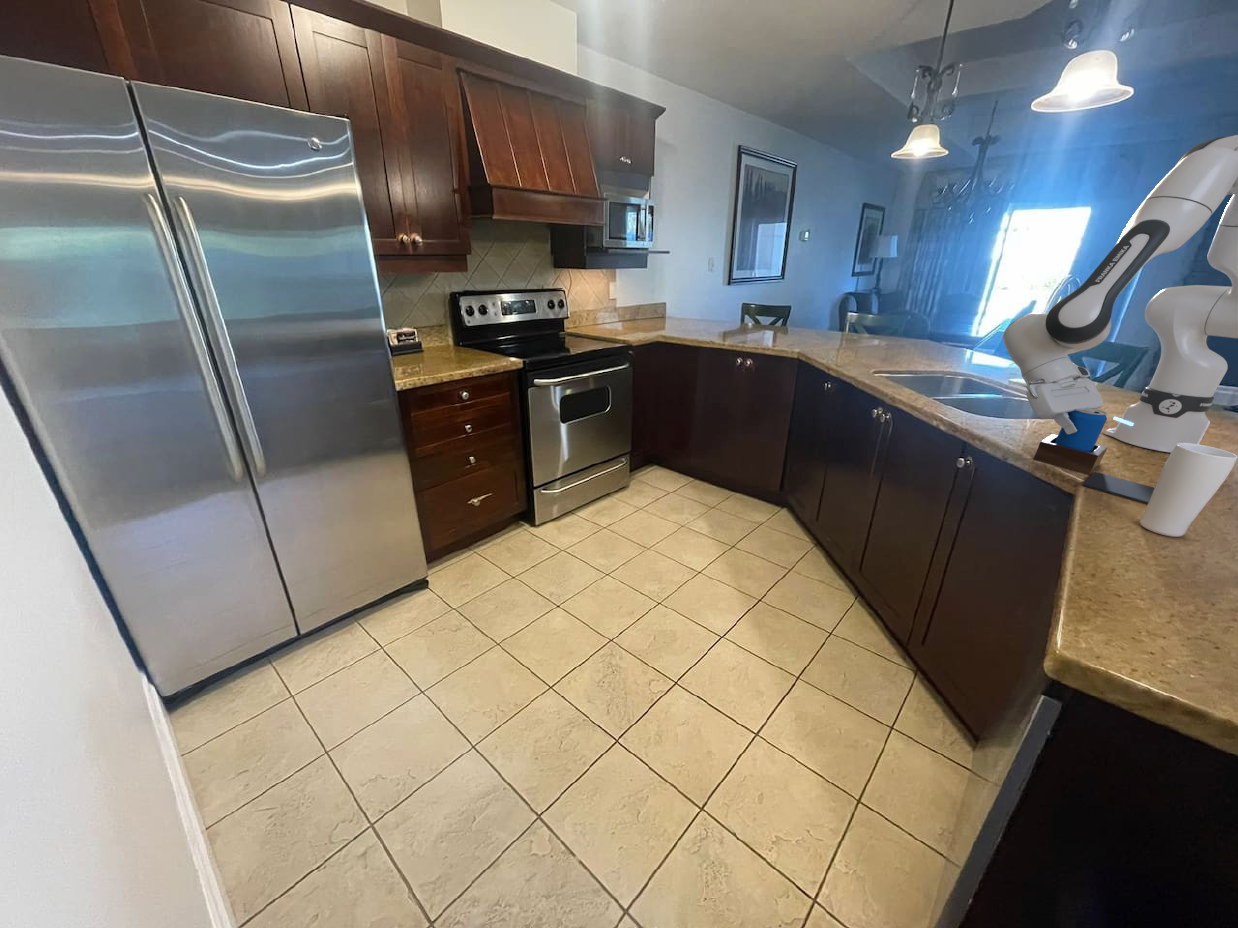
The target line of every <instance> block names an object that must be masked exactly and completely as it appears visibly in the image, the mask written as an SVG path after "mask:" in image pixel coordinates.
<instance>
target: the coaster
mask: <svg viewBox="0 0 1238 928" xmlns="http://www.w3.org/2000/svg"><path fill="white" fill-rule="evenodd" d="M1081 486H1082V487H1085V488H1087V489H1088V488H1089V489H1093V490H1096V491H1100V492H1103V493H1107V494H1110V495H1114V496H1116V497H1120V498H1124V499H1127V500H1131V501H1134V502H1138V503H1141V504H1145V505H1148V503H1149V501H1150V498H1151V496H1152V493H1153V491H1154V488H1155V486H1154V487H1153V486H1151V485H1146V484H1143V483H1139V482H1135V481H1131V480H1127V479H1123V478H1119V477H1116V476H1112V475H1109V474H1104V473H1101V472H1098V471H1097V472H1096V471H1093V472H1092V474H1090V476H1089V477H1088V478H1087V480H1085V481H1084V482H1083V483H1082V485H1081Z"/></svg>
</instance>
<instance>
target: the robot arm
mask: <svg viewBox="0 0 1238 928" xmlns="http://www.w3.org/2000/svg"><path fill="white" fill-rule="evenodd" d="M1230 195H1232V196H1231V198H1230V200H1229V202H1227V203H1228V204H1227V205H1226V207H1225V209H1224V212H1223V214H1222V216H1221V219H1220V221H1219V224H1218V226H1217V227H1216V231H1215V234H1214V237H1213V239H1212V242H1211V244H1210V247H1209V249H1208V253H1207V255H1206V259H1207V262H1208V264H1209V265H1210V267H1211V268H1212V269H1214V270H1217V271H1218V272H1221V273H1223V274H1224V275H1226V276H1227V278H1229V280H1230V283H1231V286H1227V285H1226V286H1224V285H1201V284H1195V285H1194V284H1191V285H1190V284H1189V285H1180V286H1172V287H1166V288H1164V289H1162V290H1160V291H1159V292H1158V293H1156V294H1155V295H1154V296H1152V298H1150V299H1149V301H1148V302H1147V304H1146V306H1145V309H1144V319H1145V322H1146V324H1147V325H1148V326H1149V327H1150V328H1151V329H1152V330H1153V331H1154V332H1155V334H1156V335H1157V337H1158V339H1159V343H1160V358H1159V361H1158V364H1157V366H1156V368H1155V371H1154V374H1153V376H1152V379H1151V380H1150V382H1149V384H1148V385H1147V386H1145V387H1144V389H1143V391H1142V392H1141V395H1140V396H1139V401H1138V402H1137V403H1134V404H1131V405H1129V406H1127V407H1126V408H1125V410H1124V412H1123V414H1122V416H1121V417H1117V416H1113V420H1114V421H1117V422H1118V423H1117V425H1116V426H1115V427H1112V428H1108V429H1105V430H1104V431H1103V435H1106V436H1109V437H1112V438H1114V439H1117V440H1118V441H1120V442H1123V443H1126V444H1129V445H1132V446H1135V447H1136V446H1137V447H1140V448H1144V449H1149V450H1153V451H1158V452H1164V453H1170V454H1171V452H1172V451H1173V449H1174V448H1175V446H1176V444H1178V443H1193V444H1200V445H1202V444H1201V441H1202V440H1203V439H1204V437H1205V434H1206V432H1207V430H1208V429H1209V427H1210V424H1211V421H1210V420H1209V418H1208V417H1207V415H1206V412H1208V411H1209V409H1210V407H1211V406H1212V405H1213V402H1214V399H1215V397H1214V394H1215V393H1216V391H1217V389H1218V387H1219V385H1220V384H1221V382H1222V380H1223V378H1224V377H1225V375H1226V373H1227V371H1228V368H1229V367H1228V362H1227V360H1226V359H1225V358H1224V357H1223V356H1221V354H1218V353H1217V352H1215V351H1213V350H1212V349H1210V348H1209V346H1208V344H1207V339H1208V337H1209V336H1211V337H1219V338H1220V337H1222V338H1230V339H1238V134H1235V135H1232V136H1220V137H1215V138H1210V139H1208V140H1205V141H1202V142H1200V143H1198V144H1196V145H1195V146H1192V147H1191V148H1190V149H1189V150H1188V151H1187V152H1185V154H1183V156H1182V157H1181V158H1180V159H1179V161H1178V162H1177V163H1176V164H1175V166H1174V167H1172V169H1171V170H1170V171H1169V172H1168V173H1167V174H1166V175H1165V176H1164V177H1163V178H1162V179H1161V180H1160V181H1159V183H1157V184H1156V185H1155V187H1154V188H1153V189H1152V190H1151V191H1150V193H1149V194H1148V195H1147V196H1146V198H1145V199H1144V200H1143V201H1142V202H1141V204H1140V206H1138V208H1137V209H1136V211H1135V212H1134V214H1133V215H1132V217H1131V218H1130V219H1129V221H1128V223H1127V224H1126V227H1125V228H1124V229H1123V231H1122V233H1121V235H1120V237H1119V239H1118V240H1117V242H1116V243H1115V245H1114V247H1113V248H1112V249H1111V250H1110V251H1109V252H1108V254H1106V256H1105V257H1104V259H1102V261H1101V262H1099V265H1097V266H1096V268H1095V269H1094V271H1092V273H1091V274H1090V275H1089V276H1088V278H1087V279H1086V280H1085V281H1084V282H1083V283H1082V284H1081V285H1080V286H1079V287H1078V288H1076V290H1074V291H1073V292H1071V293H1070V294H1068V295H1066V296H1065V297H1062V299H1060V300H1059V301H1058V302H1056V303H1055V304H1054V305H1053V306H1052V307H1051V309H1050V310H1049V311H1048V312H1043V313H1041V312H1039V313H1036V312H1030V313H1027V314H1024V315H1022V316H1020V317H1019V318H1016V319H1015V320H1014V321H1012V323H1010V324H1009V325H1008V326H1007V328H1005V330H1004V332H1003V334H1002V340H1003V343H1004V344H1003V345H1004V346H1005V349H1006V351H1007V353H1008V355H1009V356H1010V358H1011V361H1012V362H1013V364H1015V365H1016V366H1017V367H1018V368H1019V370H1020V374H1021V377H1022V379H1023V381H1024V382H1025V384H1026V390H1027V391H1026V398H1027V401H1028V403H1029V405H1030V407H1031V409H1032V411H1033V413H1034V415H1035V416H1036V417H1037V418H1038V419H1039V420H1048V419H1053V420H1054V422H1055V423H1056V424H1057V425H1058V426H1059V427H1061V428H1064V430H1065V432H1066V433H1067V434H1073V433H1076V432H1079V428H1078V427H1077V425H1076V424H1073V423H1072V421H1071V420H1070V419H1069V415H1068V412H1073V411H1075V409H1077V410H1079V409H1086V407H1088V408H1094V409H1098V410H1099V409H1101V408H1103V407H1104V399H1103V397H1102V395H1101V394H1100V392H1099V390H1098V388H1097V386H1096V385H1095V384H1094V382H1093V381H1092V380H1091V379H1090V378H1089V377H1091V373H1090V371H1089V370H1088V369H1087V368H1085V367H1083V366H1079V365H1078V364H1075V363H1074V362H1073V361H1072V360H1071V359H1070V357H1069V356H1068V355H1072V354H1073V355H1074V354H1076V353H1080V352H1083V351H1087V350H1090V349H1092V348H1095V347H1098V346H1099V345H1101V344H1102V343H1103V342H1104V341H1105V340H1107V338H1108V337H1109V336H1110V333H1111V331H1112V313H1113V308H1114V304H1115V302H1116V300H1117V298H1118V297H1119V295H1120V294H1121V293H1122V292H1123V291H1124V290H1125V288H1127V286H1129V284H1130V283H1131V281H1132V280H1134V278H1135V277H1136V275H1137V274H1138V273H1139V272H1140V271H1141V270H1142V269H1143V267H1144V266H1145V265H1146V264H1147V263H1148V262H1150V261H1151V260H1152V259H1153V258H1155V257H1157V256H1158V255H1163V254H1167V253H1171V252H1173V251H1175V250H1178V249H1179V248H1181V247H1182V246H1183V245H1185V243H1187V242H1188V241H1189V240H1190V239H1191V238H1192V237H1193V236H1194V235H1195V234H1196V233H1197V232H1198V231H1199V230H1201V228H1202V227H1203V226H1204V225H1205V223H1207V221H1208V220H1209V219H1210V218H1211V217H1212V215H1213V214H1214V213H1215V212H1216V210H1217V209H1218V208H1219V206H1220V205H1221V204H1222V202H1223V201H1224V200H1225V198H1226V197H1227V196H1230Z"/></svg>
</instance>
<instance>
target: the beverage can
mask: <svg viewBox="0 0 1238 928" xmlns="http://www.w3.org/2000/svg"><path fill="white" fill-rule="evenodd" d="M1107 414H1108V413H1107V412H1106V411H1105V410H1101V409H1099V408H1098V409H1094V408H1088V407H1086V409H1079V410H1077V409H1075V411H1073V412H1068V415H1069V419H1070V420H1071V421H1072V423H1073V424H1076V425H1077V427H1078V428H1079V432H1076V433H1073V434H1067V433H1066V432H1065V430H1064V428H1062V427H1061V428H1060V430H1059V433H1058V434H1057V435H1058V437H1057V439H1056V441H1055V444H1059V445H1063V446H1067V447H1071V448H1075V449H1079V450H1083V451H1087V452H1092V450H1093V448H1094V446H1095V444H1097V441H1098V439H1099V438H1100V435H1101V434H1102V433H1101V432H1102V430H1103V428H1104V427H1105V424H1106V422H1107V420H1108V418H1107Z"/></svg>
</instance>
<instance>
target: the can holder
mask: <svg viewBox="0 0 1238 928" xmlns="http://www.w3.org/2000/svg"><path fill="white" fill-rule="evenodd" d="M1058 435H1059V434H1054V433H1052V434H1049V435H1048V436H1047V437H1045V438H1044V439H1042V440H1041V441H1040V442H1039V445H1038V446H1037V448H1036V451H1035V454H1034V455H1033V459H1032V460H1035V461H1038V462H1041V463H1045V464H1049V465H1051V466H1052V465H1053V466H1057V467H1059V468H1064V469H1067V470H1071V471H1075V472H1077V473H1078V472H1079V473H1082V474H1086V475H1091V473H1093V472H1094V471H1095V469H1096V468H1097V467H1099V466H1100V464H1101V462H1102V460H1103V457H1104V456H1105V453H1106V451H1107V450H1108V446H1106V445H1102V444H1098V443H1095V446H1094V448H1093V450H1092V452H1087V451H1083V450H1079V449H1075V448H1071V447H1067V446H1063V445H1059V444H1055V441H1056V439H1057V437H1058Z"/></svg>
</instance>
